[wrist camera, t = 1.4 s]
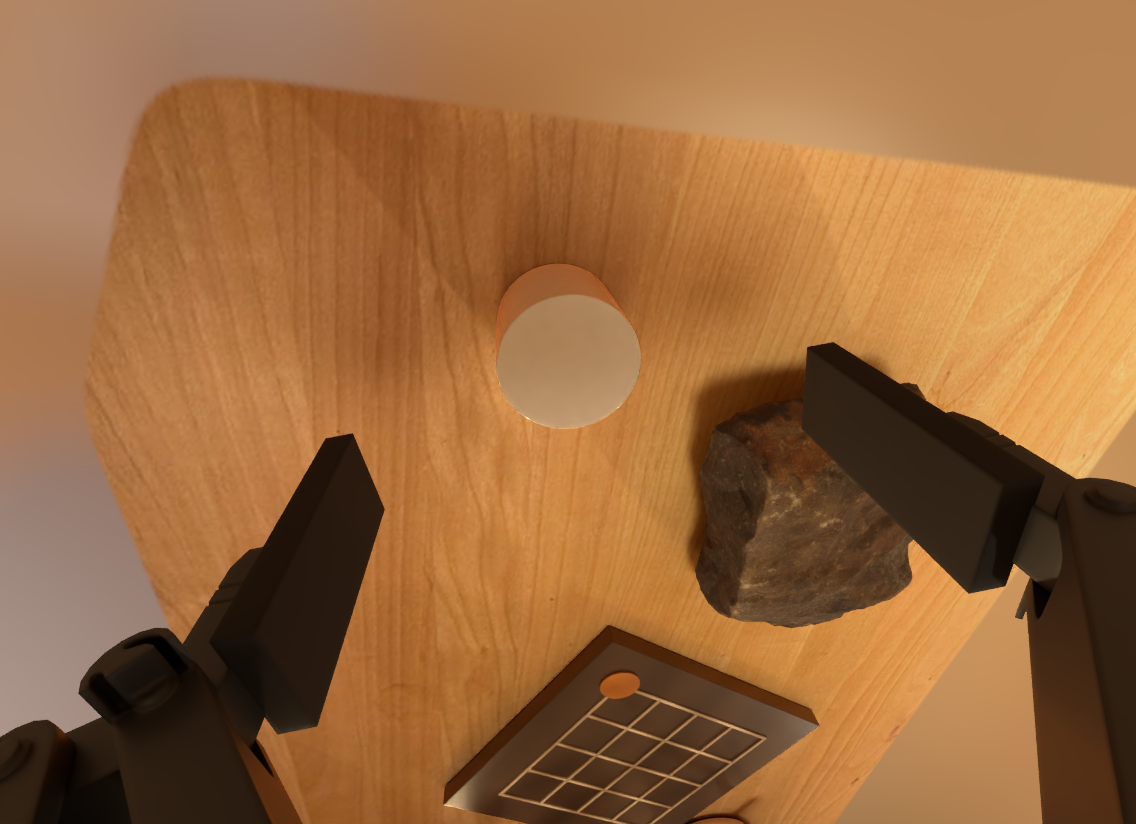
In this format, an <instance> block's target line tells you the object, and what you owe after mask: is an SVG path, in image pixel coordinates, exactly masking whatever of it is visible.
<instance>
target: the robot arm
mask: <svg viewBox="0 0 1136 824" xmlns="http://www.w3.org/2000/svg"><path fill="white" fill-rule="evenodd" d="M801 429H802V430H803V431H804V432H805V433H806V434H807V435H808V436H809V437H810V438H811V439H812V440H813V441H814V442H815V443H816V444H817V445H818V446H819V447H820V448H821V449H822V450H823V451H824V452H825V453H826V454H827V455H828V456H829V457H831V458H832V459H833V460H834V461H835V462H836V463H837V464H838V465H839V466H840V467H841V468H842V469H843V470H844V471H845V472H846V473H847V474H848V475H849V476H850V477H851V478H852V479H853V480H854V481H855V482H856V483H857V484H858V485H859V486H860V487H861V488H862V489H863V490H864V491H865V492H866V493H867V494H868V495H869V496H870V497H871V498H872V499H873V500H874V501H875V502H876V503H877V504H878V505H879V506H880V507H881V508H882V509H883V510H884V511H885V512H886V513H887V514H888V515H889V516H890V517H891V518H892V519H893V520H894V521H895V522H896V523H898V524H899V525H900V526H901V527H902V528H903V529H904V530H905V531H906V532H907V533H908V534H909V535H910V536H911V537H912V538H913V539H914V540H915V541H916V542H917V543H918V544H919V545H920V546H921V547H922V548H923V549H924V550H925V551H926V552H927V553H928V554H929V555H930V556H931V557H932V558H933V559H934V560H935V561H936V562H937V563H938V564H939V565H940V566H941V567H942V568H943V569H944V570H945V571H946V572H947V573H948V574H949V575H950V576H951V577H952V578H953V579H954V580H955V581H956V582H957V583H958V584H959V585H960V586H961V587H962V588H963V589H965V590H966V591H967V592H968V593H974V592H979V591H984V590H989V589H994V588H999V587H1004V586H1006V583H1007V580H1008V578H1009V575H1010V572H1011V569H1012V567H1013V564H1015V565H1017V566H1018V567H1019V568H1020V569H1021V570H1022V571H1024V572H1025V573H1026V574H1027V575H1029V576H1030V579H1029V581H1028V584H1027V586H1026V589H1025V591H1024V594H1023V597H1022V599H1021V602H1020V604H1019V607H1018V609H1017V612H1016V616H1015V617H1016V618H1019V619H1023V616H1024V614H1025V612H1027V620H1028V634H1029V647H1030V659H1031V660H1030V661H1031V674H1032V687H1033V700H1034V713H1035V727H1036V741H1037V754H1038V768H1039V781H1040V795H1041V807H1042V821H1043V824H1136V487H1134V486H1131V485H1129V484H1125V483H1121V482H1117V481H1113V480H1109V479H1098V478H1083V479H1075V478H1074V477H1072V476H1070V475H1069V474H1067V473H1065V472H1064V471H1062V470H1060V469H1059V468H1057V467H1055V466H1054V465H1052V464H1050V463H1049V462H1047V461H1045V460H1044V459H1042V458H1040V457H1039V456H1037V455H1035V454H1034V453H1032V452H1030V451H1029V450H1027V449H1026V448H1024V447H1022V446H1021V445H1016V444H1015V442H1014V441H1012V440H1011V439H1009V438H1007V437H1006V436H1004V435H999V432H997V431H996V430H994V429H992V428H991V427H989V426H987V425H986V424H984V423H982V422H981V421H979V420H976V419H973V418H970V417H967V416H965V415H962V414H959V413H956V412H948V413H945V412H943V411H942V410H940V409H939V408H937V407H935V406H934V405H932V404H931V403H929V402H928V401H926V400H924V399H923V398H921V397H920V396H918V395H916V394H915V393H913V392H912V391H910V390H908V389H907V388H905V387H904V386H902V385H900V384H899V383H897V382H896V381H894V380H893V379H891V378H889V377H888V376H886V375H885V374H883V373H881V372H880V371H878V370H877V369H875V368H873V367H872V366H870V365H869V364H867V363H866V362H864V361H862V360H861V359H859V358H858V357H856V356H854V355H853V354H851V353H850V352H848V351H846V350H845V349H843V348H842V347H840V346H839V345H837V344H835V343H834V342H832V343H827V344H821V345H816V346H811V347H807V359H806V372H805V385H804V399H803V412H802V425H801ZM384 510H385V509H384V507H383V504H382V502H381V500H380V497H379V495H378V492H377V490H376V488H375V485H374V483H373V480H372V478H371V476H370V473H369V471H368V468H367V466H366V464H365V461H364V459H363V456H362V454H361V452H360V449H359V447H358V444H357V442H356V440H355V437H354V435H353V433H352V434H347V435H342V436H336V437H331V438H326V439H325V441H324V442H323V444H322V446H321V448H320V449H319V451H318V453H317V455H316V456H315V458H314V460H313V461H312V463H311V465H310V467H309V468H308V470H307V472H306V474H305V475H304V477H303V479H302V481H301V482H300V484H299V486H298V487H297V489H296V491H295V493H294V494H293V496H292V498H291V500H290V501H289V503H288V505H287V507H286V508H285V510H284V512H283V514H282V515H281V517H280V519H279V520H278V522H277V524H276V526H275V527H274V529H273V531H272V533H271V534H270V536H269V538H268V540H267V541H266V543H265V545H264V546H263V547H261V548H256V549H250V550H249V551H248V552H247V553H245V554H244V555H243V556H242V557H241V558H240V559H239V560H238V561H237V562H236V563H235V564H234V565H233V566H232V567H231V568H230V569H229V571H228V572H227V574H226V576H225V577H224V579H223V580H222V582H221V584H220V585H219V590H217V591H216V592H215V593H214V595H213V596H212V598H211V600H210V601H209V606H206V608H205V609H204V611H203V612H202V614H201V616H200V617H199V619H198V620H197V622H196V624H195V625H194V627H193V628H192V630H191V632H190V633H189V635H188V636H187V638H186V640H185V641H184V643H183V644H182V643H181V642H180V641H179V639H178V638H177V637H176V636H175V634H174V633H172V632H171V631H170V630H169V629H167V628H153V629H150V630H146V631H142V632H139V633H137V634H135V635H133V636H131V637H129V638H127V639H125V640H123V641H121V642H120V643H119V644H117V645H116V646H114V647H113V648H111V649H110V650H108V651H107V652H106V653H104V654H103V655H102V656H101V657H100V658H99V659H98V660H97V661H96V662H95V663H94V664H93V665H92V666H91V667H90V668H89V670H88V671H87V673H86V674H85V676H84V677H83V679H82V680H81V683H80V688H79V695H81V696H82V697H83V698H84V699H85V700H86V701H87V702H88V703H89V704H90V705H91V706H92V707H93V708H94V709H95V710H96V711H97V712H98V713H99V714H100V715H101V716H102V717H101V718H99V719H96V720H94V721H92V722H90V723H87V724H85V725H83V726H81V727H79V728H76V729H74V730H72V731H70V732H67V733H64V732H63V731H62V730H61V729H59V727H57V726H56V725H55V724H54V723H52V722H50V721H48V720H41V721H33V722H30V723H27V724H25V725H22V726H20V727H17V728H15V729H13V730H12V731H10V732H8V733H7V734H5V735H3V736H2V737H0V824H302V822H301V820H300V818H299V816H298V814H297V812H296V810H295V808H294V806H293V804H292V802H291V800H290V798H289V796H288V794H287V792H286V790H285V788H284V786H283V785H282V783H281V781H280V779H279V777H278V775H277V773H276V771H275V769H274V767H273V765H272V763H271V761H270V759H269V757H268V755H267V753H266V751H265V749H264V748H263V746H262V745H261V743H260V742H259V741H258V740H257V738H256V737H257V735H258V732H259V730H260V727H261V725H262V722H263V720H264V717H265V718H266V719H267V721H268V722H269V723H270V725H271V726H272V727H273V729H274V730H275V731H276V733H277V734H282V733H287V732H292V731H297V730H302V729H307V728H312V727H316V726H317V725H318V722H319V719H320V715H321V712H322V709H323V706H324V703H325V699H326V696H327V693H328V690H329V686H330V683H331V680H332V677H333V674H334V670H335V667H336V664H337V661H338V658H339V654H340V651H341V648H342V645H343V641H344V638H345V635H346V632H347V629H348V625H349V622H350V619H351V616H352V613H353V609H354V606H355V603H356V600H357V596H358V593H359V590H360V587H361V584H362V580H363V577H364V574H365V571H366V568H367V564H368V561H369V558H370V555H371V551H372V548H373V545H374V542H375V539H376V535H377V532H378V529H379V526H380V523H381V519H382V516H383V513H384Z"/></svg>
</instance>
